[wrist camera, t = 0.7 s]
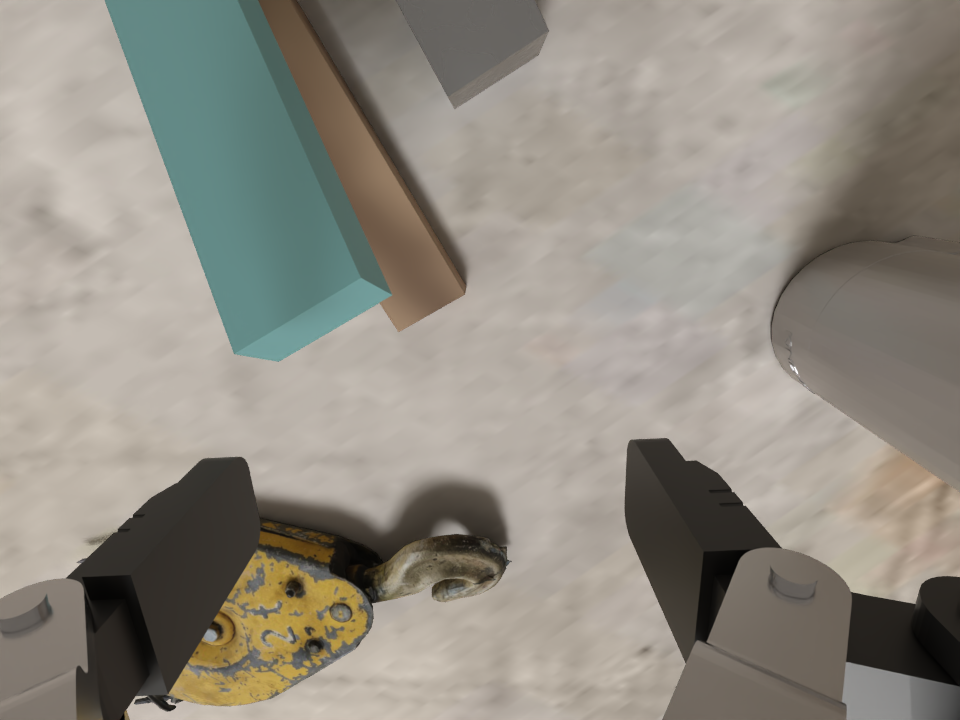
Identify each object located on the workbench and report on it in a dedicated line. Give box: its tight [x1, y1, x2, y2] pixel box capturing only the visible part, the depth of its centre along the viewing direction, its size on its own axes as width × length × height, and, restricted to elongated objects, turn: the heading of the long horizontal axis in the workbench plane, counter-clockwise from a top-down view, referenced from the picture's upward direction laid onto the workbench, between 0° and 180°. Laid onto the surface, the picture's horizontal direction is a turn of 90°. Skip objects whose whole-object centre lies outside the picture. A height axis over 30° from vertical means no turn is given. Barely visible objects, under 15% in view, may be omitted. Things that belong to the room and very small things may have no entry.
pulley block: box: [77, 518, 512, 712], centre depth 36 cm, size 14×6×30 cm
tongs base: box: [258, 0, 466, 332], centre depth 24 cm, size 7×29×6 cm, turn 30°
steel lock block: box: [396, 0, 549, 109], centre depth 24 cm, size 5×5×5 cm
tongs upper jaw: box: [105, 0, 392, 362], centre depth 18 cm, size 4×24×2 cm
